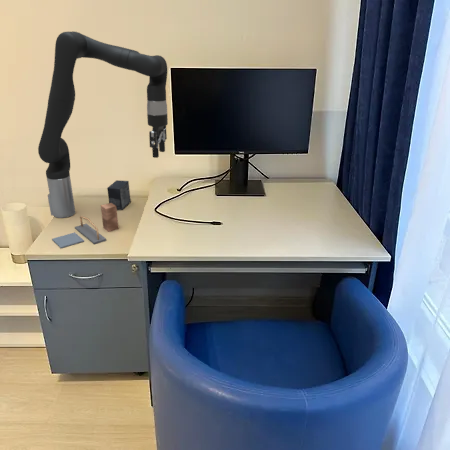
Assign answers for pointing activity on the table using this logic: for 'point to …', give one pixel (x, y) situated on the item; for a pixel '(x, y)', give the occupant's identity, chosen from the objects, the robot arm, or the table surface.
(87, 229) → the board with wooden handle
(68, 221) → the table surface
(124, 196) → the small box
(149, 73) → the robot arm
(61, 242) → the mat
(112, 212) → the block
